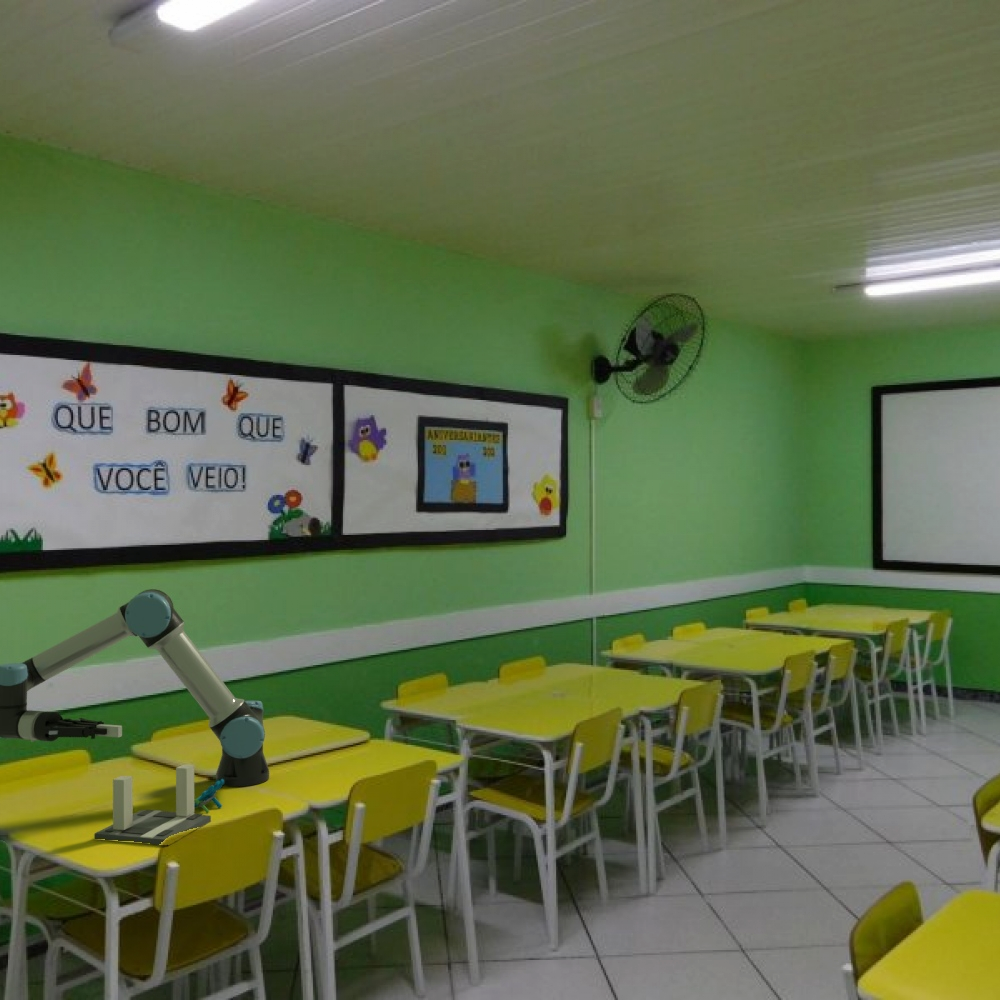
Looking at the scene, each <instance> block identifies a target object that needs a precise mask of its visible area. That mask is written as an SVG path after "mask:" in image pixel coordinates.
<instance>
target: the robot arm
mask: <svg viewBox="0 0 1000 1000" xmlns="http://www.w3.org/2000/svg"><path fill="white" fill-rule="evenodd" d="M184 626H185V622H184V620H183V619H182V617H181V616H180V615H179V613H178V612H177V610H175V607H174V602H173V600H172V599H171V597H170V596H169V595H168V594H167V593H165V591H162V590H160V589H155V588H154V589H153V588H152V589H145V590H143V591H141V592H139V593H138V594H136V595H135V596H134V597H132V599H130V600H129V601H128V602H126V603H125V604H123V605H121V606H119V607H118V609H117V612H115V613H113V614H112V615H110V616H108V617H105V618H104V619H102V620H100V621H98V622H96V623H94V624H92V625H91V626H89V627H87V628H86V629H82V630H81V631H80V632H77V633H76V634H74V635H72V636H70V637H69V638H66V639H64V640H62V641H61V642H58V643H57V644H55V645H53V646H51V647H48V648H47V649H46V650H44V651H41V652H39V653H38V654H35V655H34V656H33V657H30V658H28V659H27V660H24V661H22V662H12V663H3V664H0V738H1V739H11V740H12V739H15V740H18V739H19V740H30V743H33V742H34V743H35V741H39V742H40V741H41V742H54V741H56V740H57V739H58V738H85V739H86V738H89V737H90V738H91V739H90V740H95V739H96V736H97V737H108V738H109V737H110V738H120V737H122V736H123V725H120V724H119V725H117V724H116V725H114V724H105V722H103V721H102V720H99V721H97V720H92V719H91V720H90V719H85V718H82V717H80V718H78V719H72V718H63V716H62V715H61V713H59V712H56V711H44V710H33V709H32V710H30V709H29V710H27V707H28V692H29V691H30V690H31V689H33V688H35V687H37V686H38V685H40V684H42V683H45V681H48V680H50V679H52V678H53V677H55V676H57V675H59V674H60V673H63V672H65V671H66V670H68V669H71V668H72V667H74V666H75V665H77V664H80V663H81V662H84V661H85V660H87V659H89V658H91V657H93V656H94V655H97V654H98V653H101V652H103V651H104V650H106V649H108V648H109V647H111V646H113V645H115V644H118V643H119V642H122V641H123V640H126V639H127V638H128V637H134V638H136V637H138V638H140V640H141V641H142V642H143V644H144V645H145V646H146V648H147V649H150V650H156V651H157V652H158V653H159V655H160V656H161V657H162V658H163V660H164V661H165V662H166V663H167V665H168V666H169V668H170V669H171V670H172V671H173V673H174V674H175V676H177V678H178V679H179V681H180V682H181V683H182V685H184V686H185V689H187V691H188V692H189V693H190V695H191V696H192V698H194V700H195V701H196V702H197V703H198V705H199V706H200V708H201V709H202V710H203V711H204V712H205V714H206V715H207V716H208V718H209V723H208V726H209V727H208V728H209V729H210V730H211V731H212V732H213V734H214V735H215V737H216V738H217V739H218V741H219V743H220V746H221V751H222V752H221V756H220V757H221V758H220V760H219V764H218V767H217V770H216V773H215V783H216V782H217V781H218V780H219V781H220V780H221V779H223V780H224V782H225V783H224V784H223V785H222V786H224V785H228V786H227V787H247V786H255V785H260V784H262V783H264V782H267V781H269V780H270V769H269V766H268V762H267V760H266V757H265V754H264V741H265V737H266V732H265V728H264V705H263V704H264V703H263V702H262V701H261V700H245V699H244V698H237V697H235V695H234V694H233V693H232V692H231V691H230V689H229V688H228V687H227V685H226V683H225V682H224V681H223V680H222V678H220V676H219V675H218V673H217V672H216V671H215V670H214V668H213V667H212V666H211V664H210V663H209V662H208V660H207V659H206V658H205V657H204V656H203V654H202V652H200V650H199V648H198V647H197V645H195V643H194V642H193V641H192V640H191V639H190V636H188V635H187V634H186V631H185V630H184V628H185V627H184Z"/></svg>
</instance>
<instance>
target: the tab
mask: <svg viewBox="0 0 1000 1000" xmlns="http://www.w3.org/2000/svg"><path fill="white" fill-rule="evenodd" d="M133 779H134V778H133V775H132V776H131V775H120V776H118V777H116V778H115V777H114V778H113V779H112V825H113V829H117V830H125V829H127V828H129V827H131V826H133V814H134V813H133V812H134V811H133V807H134V804H133V803H134V802H133V801H134V800H133V797H134V795H133V792H134V791H133V790H134V789H133V788H134V787H133Z"/></svg>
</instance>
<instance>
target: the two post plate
mask: <svg viewBox="0 0 1000 1000" xmlns="http://www.w3.org/2000/svg"><path fill="white" fill-rule="evenodd" d="M175 794H176V795H175V803H176V804H175V811H168V810H167V811H165V810H155V809H154V810H152V809H145V810H144V809H141V810H139V811H137V812H135V813H133V826H131V827H129V828H127V829H125V830H117V829H113V824H111V825H109V826H106V827H105V828H102V829H101V830H99V831H97V832H95V833H94V835H93V836H94V837H93V838H94V839H105V840H118V841H134V842H142V843H150V844H156V845H155V846H160V845H159V844H161V842H163V841H164V840H165V839H166V838H168V837H169V836H171V835H174V834H177V833H179V832H183V831H187V830H189V829H193V828H197V827H200V828H202V827H204V826H205V825H207V824H209V823H211V822H212V820H211V819H212V816H211V815H208V814H207V815H206V814H203V813H195V808H194V800H195V765H194V764H182V765H179V766H177V767H176V768H175ZM203 825H204V826H203ZM201 826H202V827H201Z"/></svg>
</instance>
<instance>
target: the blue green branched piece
mask: <svg viewBox="0 0 1000 1000" xmlns="http://www.w3.org/2000/svg"><path fill="white" fill-rule="evenodd" d="M224 783H225V782H224V780H223V779H221V780H220V781H219V780H218V781H217V782H216V781H215V783H214V785H213V784H211V785H210V786H209V787H208V788H207V789H206V790H204V791H203V792H202V793H201V794H200V796H199V797H197V798H194V809H196V808H198V807H199V808H202V809H203V811H204V812H205V813H206V814H208V813H210V810H209V809H208V808H207V806H206V805H207V804H208V803H210V802H213V804H214V805H216V807H217V808H218V809H221V808H222V807H223V805H222V804H221V803H220V801H219V800H218V799H217V797H216V793H217V791H219V790H220V789H221V788H222V787H223V786H224V785H223V784H224Z"/></svg>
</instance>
